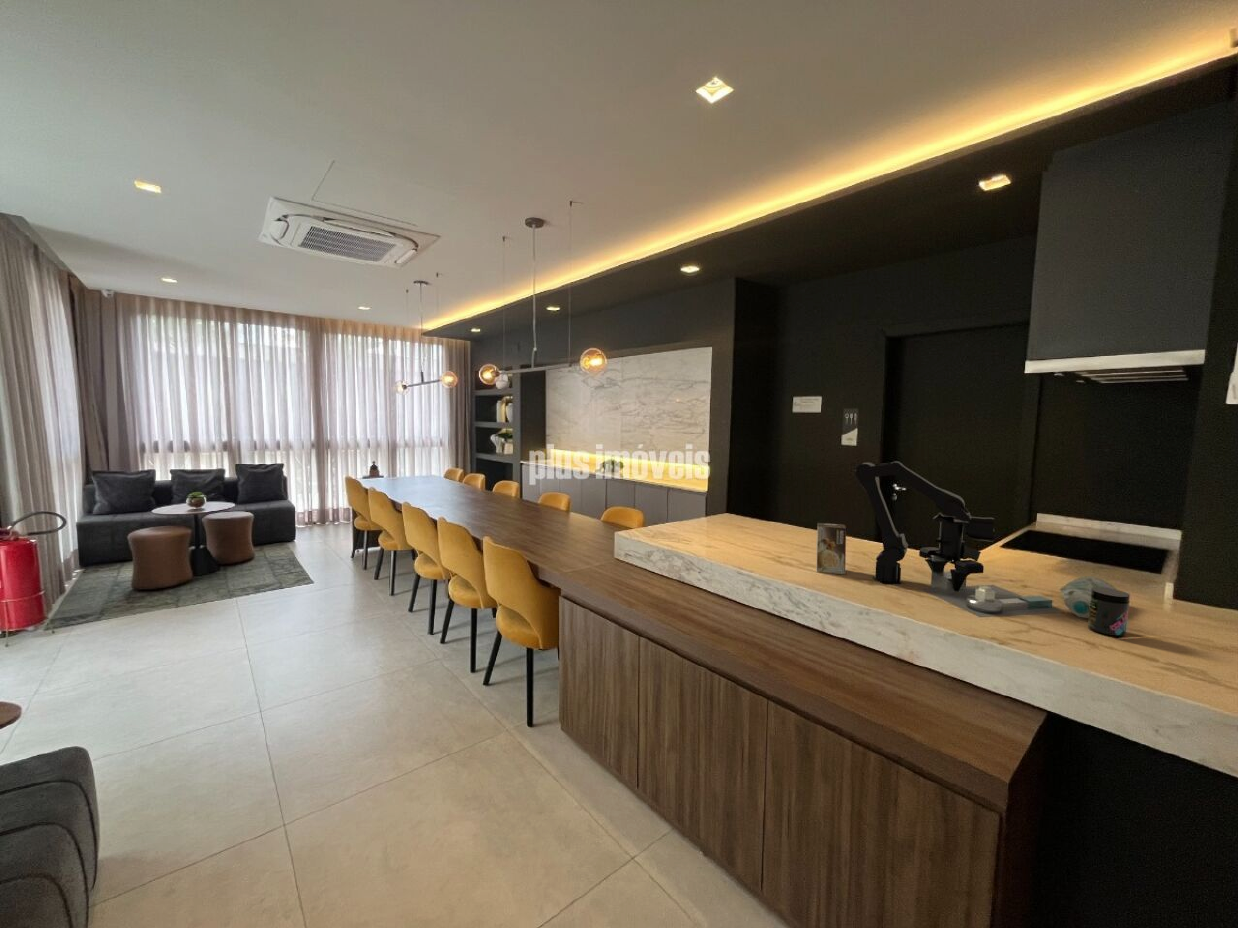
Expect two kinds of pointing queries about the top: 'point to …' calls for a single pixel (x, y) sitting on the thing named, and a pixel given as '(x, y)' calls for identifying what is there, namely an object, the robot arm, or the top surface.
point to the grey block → (945, 583)
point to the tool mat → (1000, 593)
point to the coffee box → (831, 548)
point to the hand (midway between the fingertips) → (948, 587)
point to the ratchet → (1003, 602)
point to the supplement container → (1108, 612)
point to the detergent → (1081, 594)
